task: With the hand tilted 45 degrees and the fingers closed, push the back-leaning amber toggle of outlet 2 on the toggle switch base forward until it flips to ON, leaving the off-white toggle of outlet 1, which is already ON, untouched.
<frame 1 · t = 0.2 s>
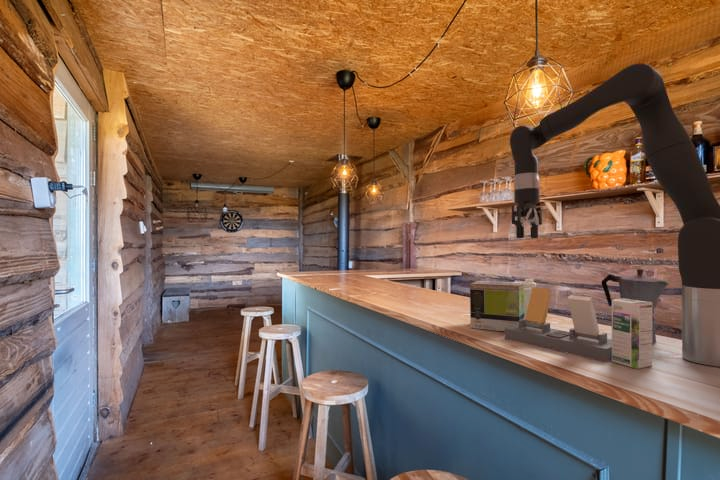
hand: (527, 238, 122), 29 cm above the worktop, tool pointing down, fingers open, 8 cm apart
toggle switch base: (559, 345, 100), on the worktop
toggle 1: (583, 318, 93), point 9 cm above the worktop, hinge at 25.0°
tea box: (497, 328, 121), on the worktop
syrup box: (631, 364, 85), on the worktop
moka pot: (634, 340, 105), on the worktop
toggle 2: (537, 308, 107), point 9 cm above the worktop, hinge at -25.0°
strainer: (525, 324, 127), on the worktop
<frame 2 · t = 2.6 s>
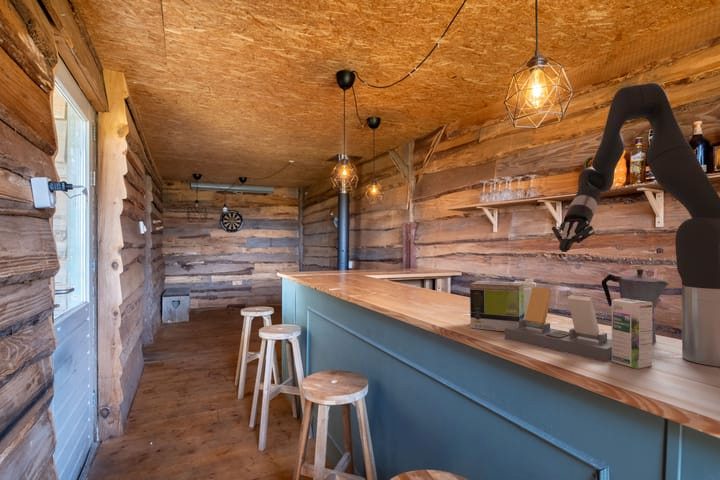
hand: (563, 250, 116), 25 cm above the worktop, tool tilted 45°, fingers closed
nothing on the worktop moved.
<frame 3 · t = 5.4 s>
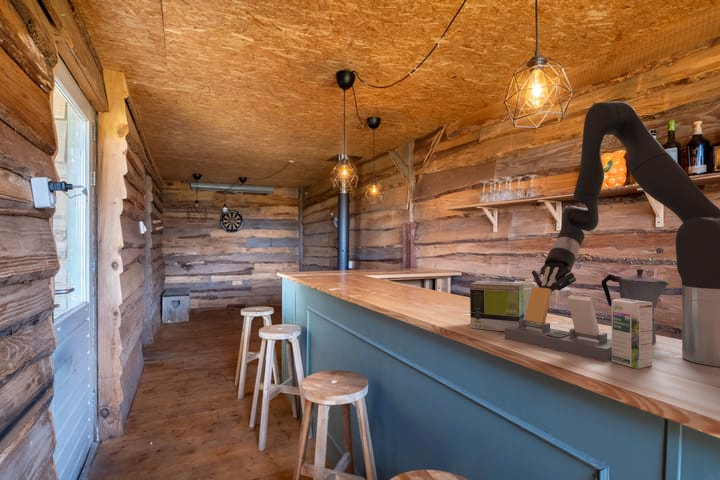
hand: (542, 298, 108), 11 cm above the worktop, tool tilted 45°, fingers closed
toggle 2: (537, 307, 107), point 9 cm above the worktop, hinge at -23.3°
everything else where it was.
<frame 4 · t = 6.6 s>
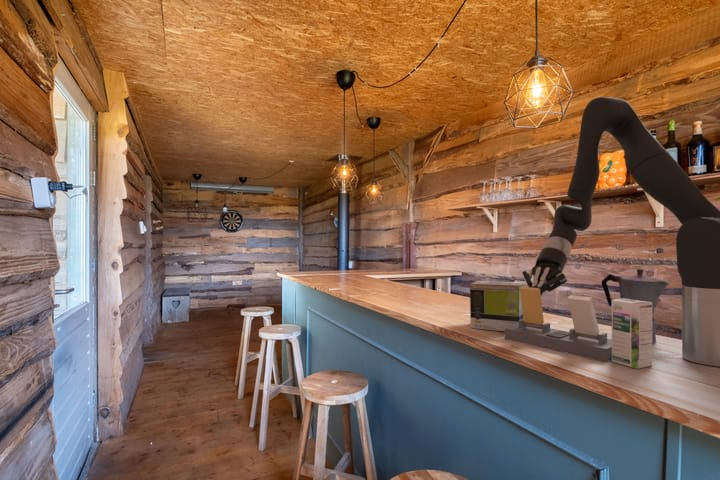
hand: (532, 299, 105), 11 cm above the worktop, tool tilted 45°, fingers closed
toggle 2: (532, 308, 105), point 9 cm above the worktop, hinge at 12.0°, touching gripper
everything else where it was.
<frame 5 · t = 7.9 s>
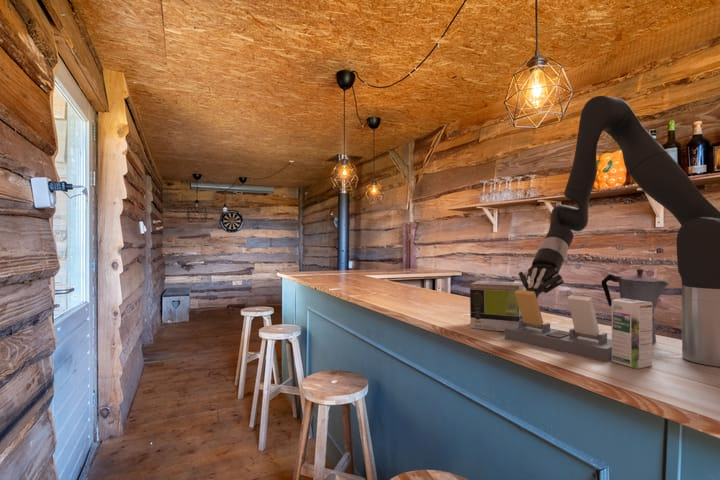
hand: (529, 301, 104), 11 cm above the worktop, tool tilted 45°, fingers closed
toggle 2: (529, 310, 104), point 9 cm above the worktop, hinge at 26.3°, touching gripper
everything else where it was.
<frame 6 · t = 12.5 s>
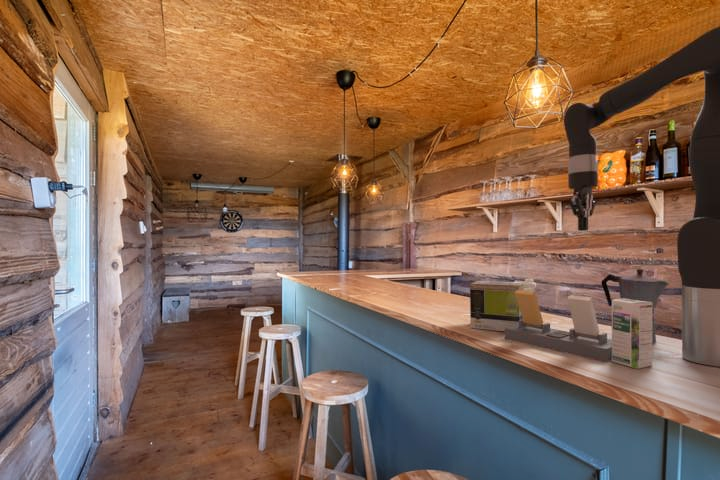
hand: (583, 230, 111), 31 cm above the worktop, tool pointing down, fingers closed
toggle 2: (529, 310, 104), point 9 cm above the worktop, hinge at 26.3°
everything else where it was.
at the end: toggle 2 at +26° (first picture: -25°); toggle 1 at +25° (first picture: +25°) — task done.
